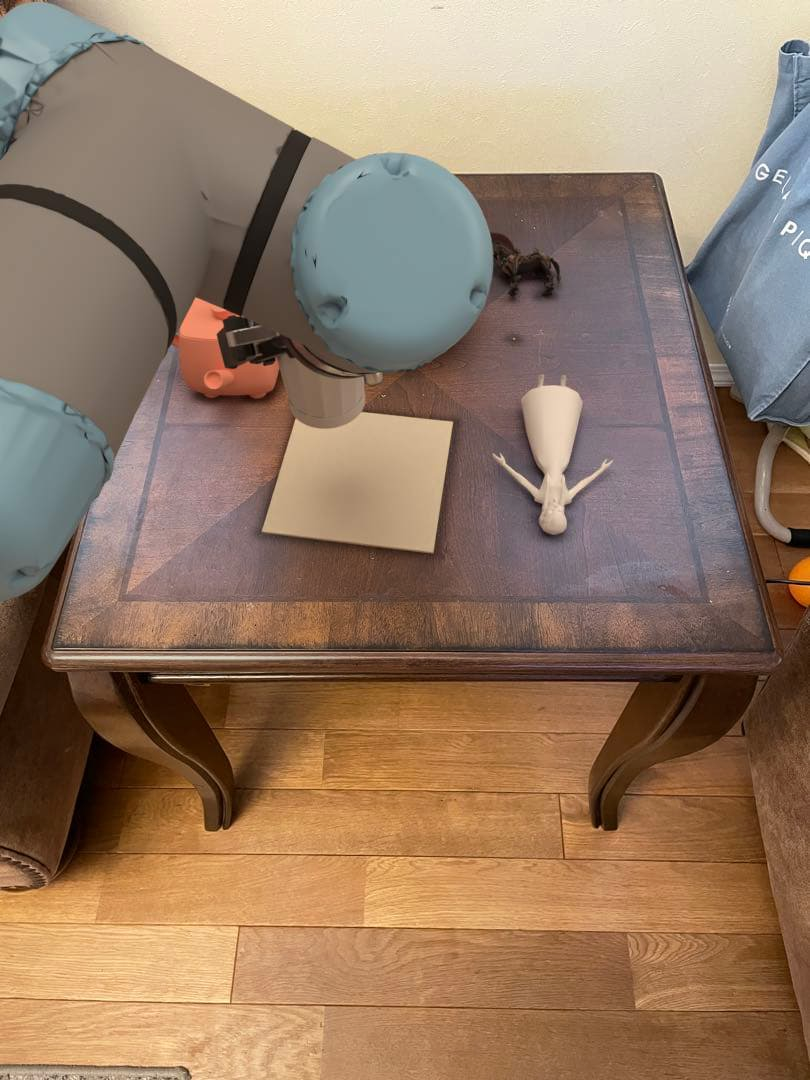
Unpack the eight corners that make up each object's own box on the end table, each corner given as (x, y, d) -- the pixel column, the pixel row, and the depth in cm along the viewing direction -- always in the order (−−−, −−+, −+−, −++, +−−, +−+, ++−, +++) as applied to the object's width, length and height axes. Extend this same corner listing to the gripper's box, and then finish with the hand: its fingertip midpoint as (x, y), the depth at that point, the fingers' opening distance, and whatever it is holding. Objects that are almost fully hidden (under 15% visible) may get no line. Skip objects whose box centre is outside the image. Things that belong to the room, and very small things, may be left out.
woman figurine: (613, 369, 79) (624, 524, 70) (604, 398, 83) (613, 549, 74) (496, 363, 80) (492, 516, 71) (492, 392, 84) (488, 541, 75)
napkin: (262, 533, 74) (261, 531, 74) (299, 407, 83) (299, 405, 83) (433, 553, 73) (433, 552, 73) (452, 423, 82) (453, 421, 81)
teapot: (224, 436, 81) (204, 366, 73) (163, 371, 86) (138, 299, 78) (316, 382, 85) (306, 310, 77) (253, 323, 90) (237, 250, 82)
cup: (386, 376, 68) (382, 255, 58) (358, 445, 64) (348, 328, 54) (298, 358, 69) (279, 237, 59) (264, 425, 65) (238, 306, 55)
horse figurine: (570, 349, 91) (545, 246, 97) (582, 327, 88) (555, 222, 93) (495, 351, 90) (474, 246, 95) (505, 328, 86) (482, 221, 92)
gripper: (178, 415, 42) (200, 410, 64) (537, 339, 45) (441, 359, 67) (139, 270, 41) (176, 315, 63) (514, 200, 44) (423, 267, 66)
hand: (313, 338), depth 65 cm, fingers closed on cup, 7 cm apart
